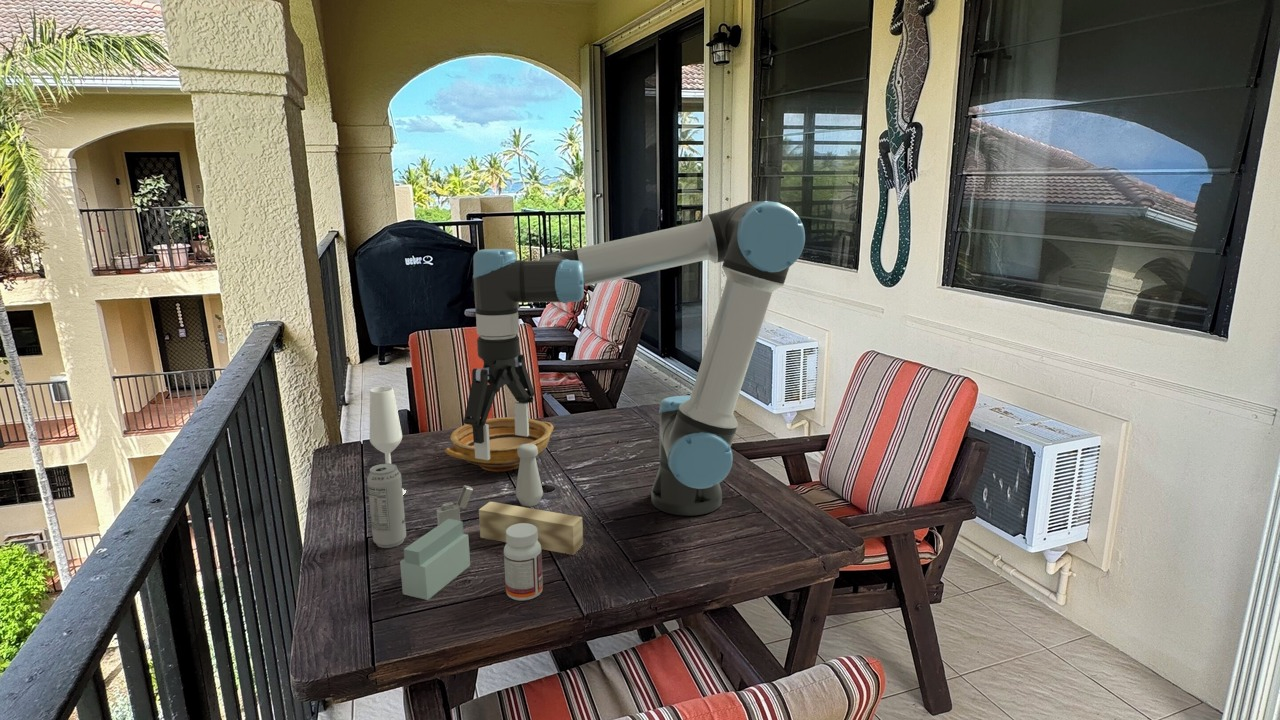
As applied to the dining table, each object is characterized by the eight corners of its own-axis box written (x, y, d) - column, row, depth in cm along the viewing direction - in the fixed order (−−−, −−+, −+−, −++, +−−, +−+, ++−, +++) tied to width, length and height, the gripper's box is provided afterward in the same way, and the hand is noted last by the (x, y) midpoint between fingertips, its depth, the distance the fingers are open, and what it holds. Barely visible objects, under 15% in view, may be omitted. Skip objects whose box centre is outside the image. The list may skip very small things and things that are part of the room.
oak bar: (583, 546, 136) (582, 517, 135) (573, 556, 133) (572, 526, 131) (491, 529, 143) (490, 501, 142) (480, 538, 140) (478, 509, 138)
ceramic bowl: (477, 494, 159) (475, 460, 157) (423, 465, 176) (421, 434, 174) (581, 460, 179) (580, 429, 177) (523, 436, 196) (522, 408, 194)
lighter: (440, 532, 141) (438, 495, 140) (437, 529, 143) (434, 492, 141) (475, 523, 145) (472, 486, 143) (471, 520, 147) (469, 483, 145)
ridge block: (470, 565, 129) (467, 522, 127) (427, 600, 118) (423, 553, 116) (446, 560, 131) (443, 517, 129) (402, 594, 120) (398, 548, 118)
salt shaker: (538, 509, 151) (535, 451, 148) (512, 507, 152) (509, 449, 149) (547, 498, 157) (544, 441, 154) (522, 496, 158) (519, 440, 155)
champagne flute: (410, 496, 158) (401, 390, 153) (378, 502, 155) (367, 395, 150) (403, 485, 164) (394, 383, 158) (372, 491, 161) (362, 387, 155)
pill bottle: (527, 578, 125) (524, 517, 122) (550, 591, 121) (548, 529, 118) (498, 592, 120) (494, 530, 118) (521, 606, 116) (518, 542, 114)
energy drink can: (412, 541, 138) (406, 467, 135) (383, 552, 134) (376, 477, 130) (396, 531, 142) (389, 459, 139) (367, 542, 138) (360, 468, 134)
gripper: (516, 322, 143) (520, 424, 148) (437, 347, 121) (445, 466, 126) (549, 325, 141) (553, 428, 145) (475, 351, 118) (482, 472, 123)
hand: (503, 446), depth 136 cm, fingers open, 13 cm apart
